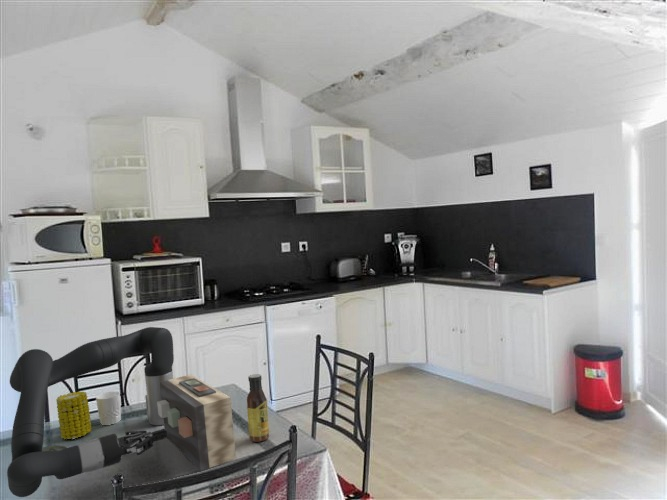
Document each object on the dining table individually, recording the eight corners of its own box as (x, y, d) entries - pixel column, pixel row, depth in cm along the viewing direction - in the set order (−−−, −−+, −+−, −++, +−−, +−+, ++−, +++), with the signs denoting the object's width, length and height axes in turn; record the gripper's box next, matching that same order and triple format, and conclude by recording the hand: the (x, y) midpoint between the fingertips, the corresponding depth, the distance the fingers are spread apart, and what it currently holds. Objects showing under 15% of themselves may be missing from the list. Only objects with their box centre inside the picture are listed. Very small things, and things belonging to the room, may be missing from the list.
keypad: (200, 470, 143) (194, 404, 141) (165, 435, 169) (159, 379, 168) (235, 458, 149) (230, 394, 147) (196, 426, 175) (191, 371, 174)
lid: (61, 453, 162) (59, 437, 161) (78, 459, 156) (76, 443, 156) (25, 468, 153) (24, 451, 153) (42, 475, 147) (40, 458, 147)
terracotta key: (184, 438, 144) (182, 423, 144) (179, 433, 147) (177, 419, 147) (192, 435, 145) (191, 420, 145) (187, 430, 149) (186, 416, 148)
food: (66, 448, 169) (61, 440, 177) (103, 429, 176) (96, 422, 184) (49, 406, 166) (45, 400, 175) (87, 389, 173) (81, 384, 181)
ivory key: (162, 418, 160) (161, 405, 160) (158, 414, 164) (157, 401, 163) (170, 416, 162) (169, 402, 161) (166, 412, 165) (165, 399, 165)
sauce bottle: (265, 443, 157) (260, 379, 156) (246, 442, 159) (240, 379, 157) (272, 434, 164) (267, 372, 163) (254, 433, 165) (248, 372, 164)
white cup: (103, 419, 188) (100, 392, 188) (125, 417, 189) (122, 390, 188) (95, 428, 181) (92, 400, 180) (118, 425, 181) (115, 397, 181)
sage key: (172, 427, 152) (171, 413, 152) (168, 423, 155) (166, 409, 155) (181, 425, 153) (179, 411, 153) (176, 421, 157) (175, 407, 157)
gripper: (95, 458, 139) (160, 438, 149) (105, 476, 128) (175, 454, 138) (92, 431, 138) (157, 413, 148) (102, 447, 127) (172, 426, 137)
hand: (166, 433), depth 143 cm, fingers closed
